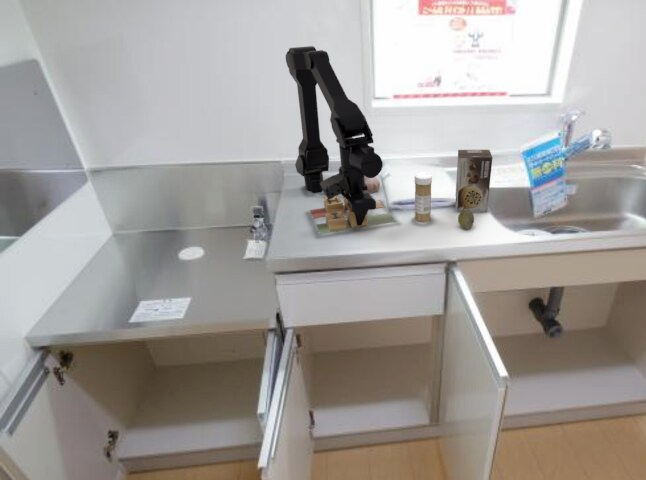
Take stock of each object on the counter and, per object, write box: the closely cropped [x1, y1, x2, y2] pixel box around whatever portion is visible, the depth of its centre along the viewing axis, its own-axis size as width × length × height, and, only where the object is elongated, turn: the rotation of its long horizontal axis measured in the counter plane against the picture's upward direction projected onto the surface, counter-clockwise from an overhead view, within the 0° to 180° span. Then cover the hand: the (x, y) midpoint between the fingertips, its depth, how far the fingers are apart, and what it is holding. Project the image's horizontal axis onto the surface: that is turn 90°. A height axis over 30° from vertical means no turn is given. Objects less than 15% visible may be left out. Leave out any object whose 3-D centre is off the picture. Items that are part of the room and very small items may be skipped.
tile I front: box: [325, 211, 347, 231], centre depth 119 cm, size 4×4×3 cm
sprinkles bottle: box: [414, 171, 433, 223], centre depth 120 cm, size 5×5×13 cm
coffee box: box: [454, 149, 493, 213], centre depth 127 cm, size 9×6×16 cm
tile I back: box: [343, 197, 350, 210], centre depth 128 cm, size 4×4×3 cm
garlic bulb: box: [363, 176, 381, 194], centre depth 138 cm, size 8×7×8 cm
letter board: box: [309, 199, 397, 235], centre depth 125 cm, size 15×22×1 cm
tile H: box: [323, 196, 344, 213], centre depth 126 cm, size 4×4×3 cm
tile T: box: [346, 210, 368, 228], centre depth 120 cm, size 4×4×3 cm
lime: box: [457, 209, 475, 230], centre depth 121 cm, size 4×5×5 cm
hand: (357, 221), depth 121 cm, fingers closed on tile T, 4 cm apart
